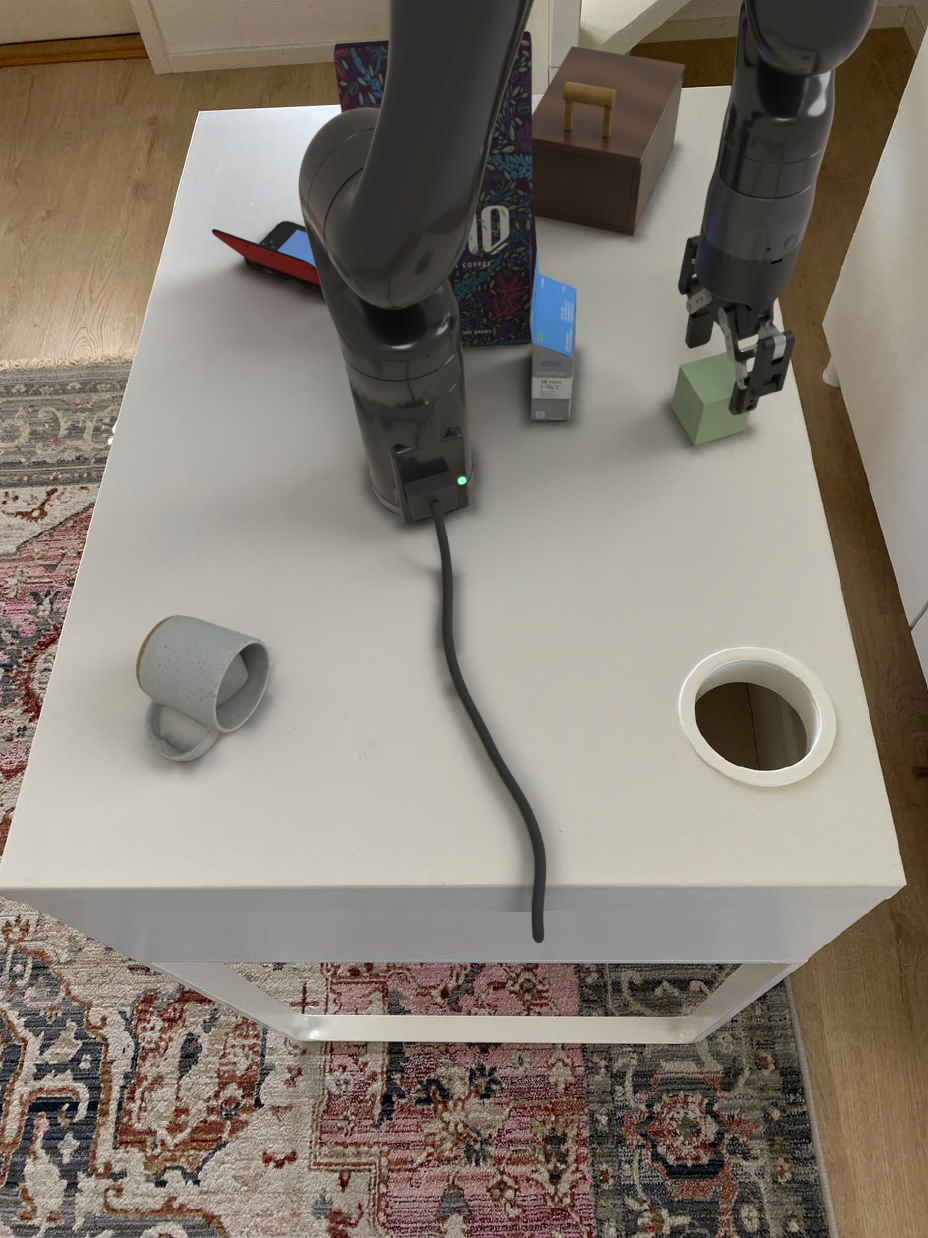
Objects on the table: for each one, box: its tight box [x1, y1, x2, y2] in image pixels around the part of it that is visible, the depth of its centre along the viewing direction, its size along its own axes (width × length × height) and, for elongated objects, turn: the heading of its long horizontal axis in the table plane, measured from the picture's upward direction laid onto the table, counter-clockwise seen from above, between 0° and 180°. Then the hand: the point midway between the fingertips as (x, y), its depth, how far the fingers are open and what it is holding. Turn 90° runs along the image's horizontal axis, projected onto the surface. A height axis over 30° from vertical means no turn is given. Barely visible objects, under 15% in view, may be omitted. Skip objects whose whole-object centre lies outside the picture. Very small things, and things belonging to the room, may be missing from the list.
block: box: [671, 351, 750, 447], centre depth 85 cm, size 5×5×6 cm
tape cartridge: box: [529, 251, 577, 422], centre depth 86 cm, size 9×4×12 cm, turn 174°
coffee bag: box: [333, 30, 538, 347], centre depth 84 cm, size 8×16×28 cm, turn 91°
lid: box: [532, 45, 686, 165], centre depth 95 cm, size 16×13×5 cm
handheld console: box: [211, 220, 323, 294], centre depth 98 cm, size 12×11×7 cm
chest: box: [532, 72, 685, 237], centre depth 102 cm, size 16×13×9 cm
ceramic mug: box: [135, 614, 272, 762], centre depth 73 cm, size 11×8×8 cm
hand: (718, 376), depth 84 cm, fingers open, 8 cm apart
